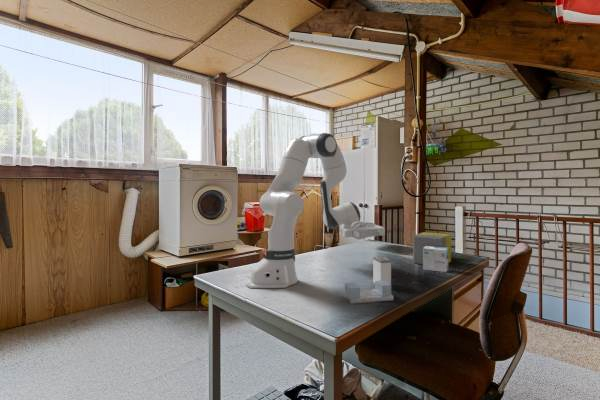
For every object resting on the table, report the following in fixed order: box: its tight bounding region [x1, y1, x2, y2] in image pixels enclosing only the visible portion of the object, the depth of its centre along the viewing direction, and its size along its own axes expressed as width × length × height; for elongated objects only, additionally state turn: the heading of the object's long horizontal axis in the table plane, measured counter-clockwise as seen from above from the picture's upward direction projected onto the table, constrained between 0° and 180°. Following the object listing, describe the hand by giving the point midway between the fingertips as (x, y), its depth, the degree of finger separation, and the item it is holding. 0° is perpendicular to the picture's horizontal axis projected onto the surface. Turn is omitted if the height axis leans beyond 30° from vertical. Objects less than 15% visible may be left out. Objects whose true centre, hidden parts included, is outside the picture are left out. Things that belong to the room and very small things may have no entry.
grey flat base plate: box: [342, 288, 394, 305], centre depth 113 cm, size 16×8×2 cm, turn 101°
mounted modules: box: [344, 280, 392, 298], centre depth 113 cm, size 16×6×4 cm, turn 101°
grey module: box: [372, 255, 392, 286], centre depth 128 cm, size 5×7×11 cm, turn 11°
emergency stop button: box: [412, 231, 452, 266], centre depth 167 cm, size 15×24×15 cm, turn 139°
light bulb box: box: [422, 246, 449, 273], centre depth 151 cm, size 11×7×11 cm, turn 58°
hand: (369, 234), depth 139 cm, fingers open, 8 cm apart
